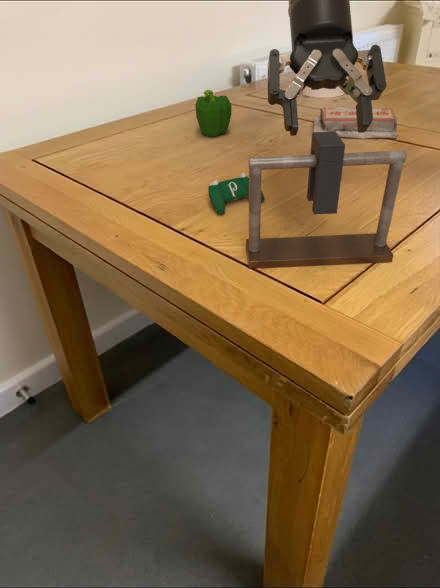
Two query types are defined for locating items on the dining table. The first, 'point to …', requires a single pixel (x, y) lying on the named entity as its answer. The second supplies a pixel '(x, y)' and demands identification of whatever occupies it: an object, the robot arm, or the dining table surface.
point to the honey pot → (323, 92)
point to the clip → (325, 172)
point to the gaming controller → (229, 191)
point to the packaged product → (346, 122)
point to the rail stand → (321, 247)
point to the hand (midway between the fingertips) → (329, 131)
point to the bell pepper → (213, 113)
